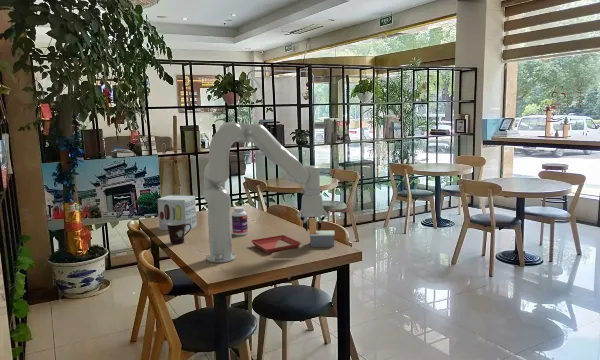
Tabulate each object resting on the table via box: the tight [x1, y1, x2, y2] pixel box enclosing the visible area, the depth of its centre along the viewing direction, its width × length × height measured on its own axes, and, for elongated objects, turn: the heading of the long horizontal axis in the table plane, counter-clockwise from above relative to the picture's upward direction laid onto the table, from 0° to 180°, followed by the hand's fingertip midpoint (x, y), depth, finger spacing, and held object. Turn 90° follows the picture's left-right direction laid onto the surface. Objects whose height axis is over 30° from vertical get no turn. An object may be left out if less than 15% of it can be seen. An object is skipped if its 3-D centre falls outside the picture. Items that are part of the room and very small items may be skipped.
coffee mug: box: [167, 222, 192, 246], centre depth 226 cm, size 12×9×10 cm
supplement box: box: [157, 195, 198, 232], centre depth 257 cm, size 17×13×18 cm
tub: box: [309, 236, 335, 248], centre depth 212 cm, size 7×11×6 cm, turn 86°
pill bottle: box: [231, 206, 249, 236], centre depth 239 cm, size 8×8×14 cm
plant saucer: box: [250, 234, 302, 255], centre depth 212 cm, size 18×18×3 cm
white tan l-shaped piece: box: [308, 217, 336, 237], centre depth 211 cm, size 8×12×8 cm, turn 87°
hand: (312, 230), depth 211 cm, fingers open, 5 cm apart
